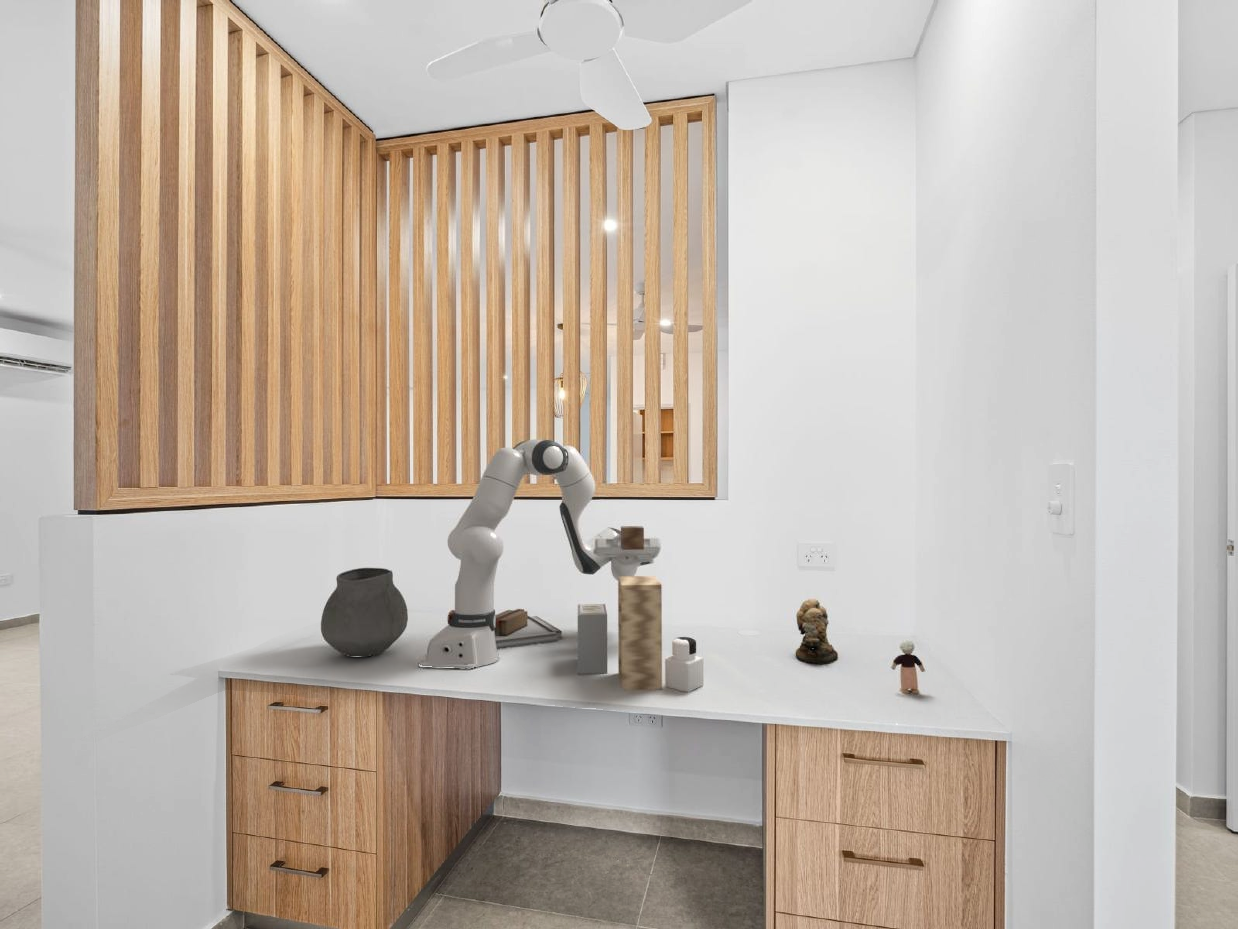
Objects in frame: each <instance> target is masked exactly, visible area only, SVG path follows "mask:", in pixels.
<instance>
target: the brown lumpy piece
mask: <svg viewBox="0 0 1238 929" xmlns="http://www.w3.org/2000/svg"><path fill="white" fill-rule="evenodd" d="M820 604H821V603H820V602H819V600H817V599H816V598H810V599H807V600H805V601H803V602H802V603H801V604H800V605H801V606H800V608H799V609H798V610H797V612H796V625H797V627H798V628H797V629H798V631H799V633H800V635H802V636H803V637H802V641H801V642H800V645H799V648H797V649H796V650H795V658H796V657H797V658H796V659H797V660H799V662H805V663H806V664H808V663H814V664H815V663H816V664H820V665H828V664H832V663H834V662H836V661H837V660H838V657H839V653H838V652H837V651H836V650H835V648H834V647H833V645H832V644H830V642H829V640H828V637H827V634H828V633H827V630H828V625H829V619H828V617H829V616H828V613H827V610H826V607H824V606H823V605H820ZM831 662H832V663H831Z"/></svg>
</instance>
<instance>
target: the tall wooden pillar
mask: <svg viewBox="0 0 1238 929" xmlns="http://www.w3.org/2000/svg"><path fill="white" fill-rule="evenodd" d="M617 587H618V588H617V594H618V597H617V600H618V602H617V606H618V608H617V614H618V617H617V619H618V620H617V621H618V622H617V623H618V624H617V626H618V629H617V630H618V635H617V636H618V637H617V638H618V639H617V640H618V644H617V645H618V647H617V648H618V662H617V664H618V666H617V667H618V669H617V671H618V678H619V681H620V682H619V683H620V687H621V691H644V690H645V691H646V690H648V691H649V690H653V691H655V690H663V653H662V652H663V641H662V640H663V636H662V635H663V634H662V632H663V630H662V629H663V627H662V625H663V624H662V621H663V620H662V618H663V617H662V615H663V614H662V607H663V606H662V605H663V604H662V600H663V599H662V587H663V586H662V584H661V582H660V581H659V580H658V578H657V577H656V576H655V575H640V576H639V575H638V576H635V575H634V576H620V577H618V580H617Z"/></svg>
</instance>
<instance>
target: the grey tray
mask: <svg viewBox="0 0 1238 929" xmlns="http://www.w3.org/2000/svg"><path fill="white" fill-rule="evenodd" d="M495 615H496V626H495V630H494V632H495V641H496V647H497V650H501V649H500V648H502V649H508V648H507V647H510V648H514V647H515V648H517V647H524V646H525V647H526V646H532V645H531V644H533V645H539V644H538V643H541V644H548V643H554V642H558V640H561V639H563V638H562V637H563V635H562V634H563V632H562V631H563V630H561V629H560V628H557V627H555V626H554V625H552V624H551V623H549V622H548V621H546V620H545V619H543V618H540V617H539V616H537V615H532V616H530V615H528V611H527V610H525V609H523V608H517V609H515V610H514V609H507V610H505V611H502V612H500V613H498V614H495Z"/></svg>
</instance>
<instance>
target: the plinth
mask: <svg viewBox="0 0 1238 929" xmlns="http://www.w3.org/2000/svg"><path fill="white" fill-rule="evenodd" d="M577 674H578V675H583V674H584V675H585V674H590V675H591V674H608V612H607V607H606V603H600V604H599V603H598V604H597V603H592V604H589V603H587V604H586V603H585V604H577Z"/></svg>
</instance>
